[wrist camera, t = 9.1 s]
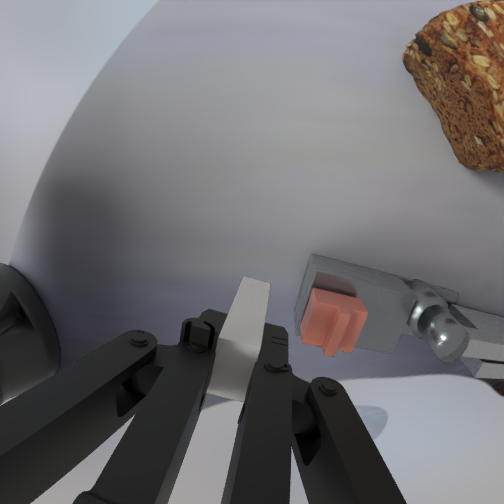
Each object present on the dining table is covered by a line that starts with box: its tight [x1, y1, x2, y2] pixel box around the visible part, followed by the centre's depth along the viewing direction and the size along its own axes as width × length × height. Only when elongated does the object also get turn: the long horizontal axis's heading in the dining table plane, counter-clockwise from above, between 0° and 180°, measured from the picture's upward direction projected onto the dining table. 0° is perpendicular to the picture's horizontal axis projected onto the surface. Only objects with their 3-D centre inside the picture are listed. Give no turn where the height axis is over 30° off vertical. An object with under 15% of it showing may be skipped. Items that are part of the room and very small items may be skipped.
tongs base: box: [294, 254, 504, 379], centre depth 18 cm, size 31×4×7 cm, turn 77°
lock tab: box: [300, 288, 368, 357], centre depth 16 cm, size 3×3×3 cm
